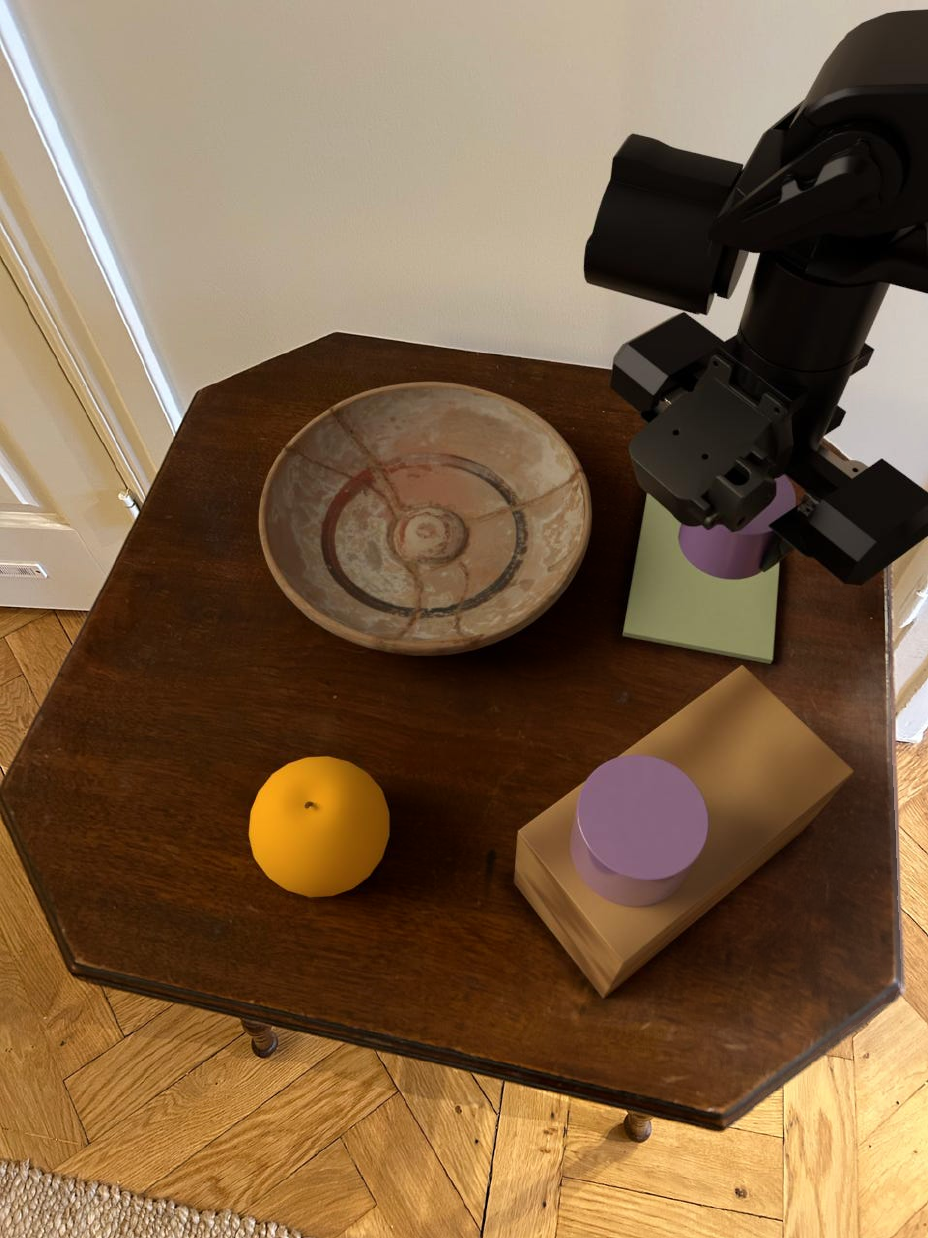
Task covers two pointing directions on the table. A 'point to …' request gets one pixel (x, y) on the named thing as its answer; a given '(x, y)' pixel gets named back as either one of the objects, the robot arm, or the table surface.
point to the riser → (738, 825)
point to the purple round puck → (736, 540)
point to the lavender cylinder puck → (637, 830)
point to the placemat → (696, 598)
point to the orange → (319, 826)
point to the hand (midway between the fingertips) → (728, 534)
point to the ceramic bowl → (425, 518)
